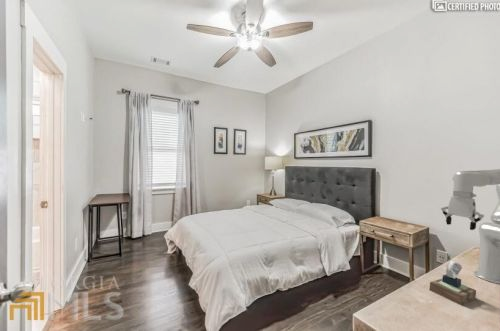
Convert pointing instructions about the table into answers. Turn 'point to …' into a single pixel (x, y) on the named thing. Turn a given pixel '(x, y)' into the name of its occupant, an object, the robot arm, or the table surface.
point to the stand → (453, 292)
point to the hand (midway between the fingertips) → (460, 226)
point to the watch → (452, 274)
